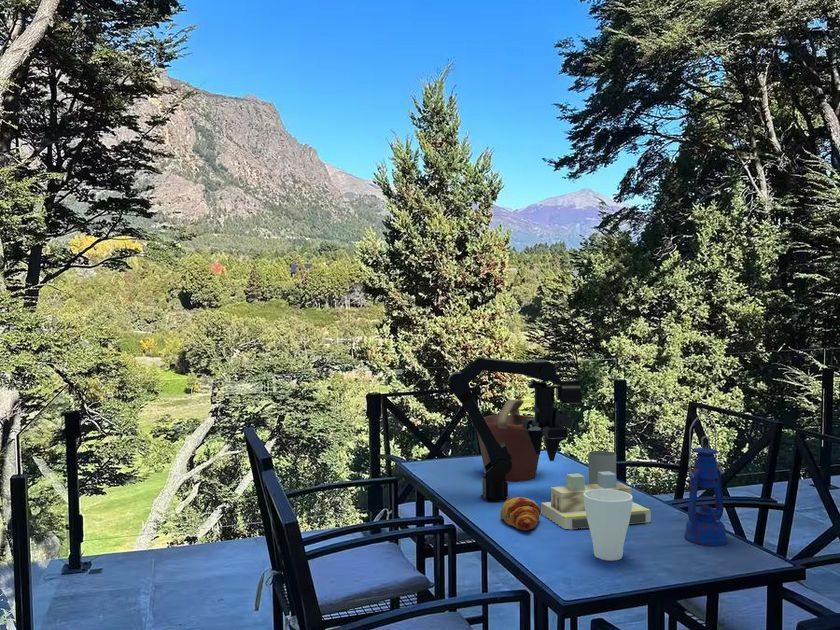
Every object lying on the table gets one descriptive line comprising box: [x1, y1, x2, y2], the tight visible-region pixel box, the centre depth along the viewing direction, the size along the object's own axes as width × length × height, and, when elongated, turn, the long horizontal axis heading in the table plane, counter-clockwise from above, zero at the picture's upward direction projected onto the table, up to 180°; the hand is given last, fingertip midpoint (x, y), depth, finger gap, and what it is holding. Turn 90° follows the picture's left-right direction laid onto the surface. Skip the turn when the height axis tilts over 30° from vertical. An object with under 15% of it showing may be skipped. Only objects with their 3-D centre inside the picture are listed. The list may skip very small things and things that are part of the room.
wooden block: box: [550, 481, 632, 513], centre depth 177 cm, size 20×6×5 cm, turn 104°
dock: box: [540, 501, 652, 530], centre depth 177 cm, size 24×15×3 cm, turn 104°
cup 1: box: [588, 450, 617, 485], centre depth 211 cm, size 8×8×10 cm
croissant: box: [499, 496, 541, 531], centre depth 175 cm, size 21×10×8 cm, turn 3°
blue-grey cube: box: [598, 471, 617, 489], centre depth 178 cm, size 4×4×4 cm
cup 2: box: [584, 489, 633, 562], centre depth 149 cm, size 10×10×14 cm
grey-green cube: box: [565, 472, 586, 491], centre depth 176 cm, size 4×4×4 cm
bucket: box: [476, 399, 544, 483], centre depth 224 cm, size 24×22×25 cm
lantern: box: [683, 411, 729, 547], centre depth 160 cm, size 11×9×30 cm
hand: (544, 457), depth 196 cm, fingers open, 9 cm apart
